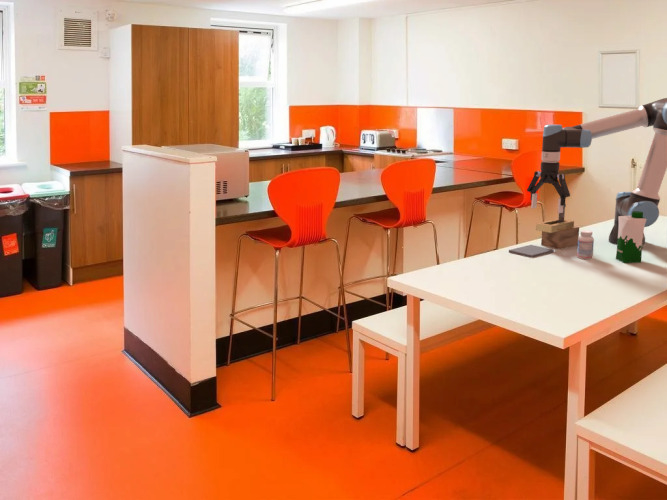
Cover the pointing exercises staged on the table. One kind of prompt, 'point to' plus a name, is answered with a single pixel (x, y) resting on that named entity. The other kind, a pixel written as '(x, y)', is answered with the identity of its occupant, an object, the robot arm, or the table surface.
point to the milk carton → (630, 237)
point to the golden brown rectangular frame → (554, 225)
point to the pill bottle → (585, 245)
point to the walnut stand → (561, 236)
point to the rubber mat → (531, 251)
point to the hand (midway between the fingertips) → (546, 210)
